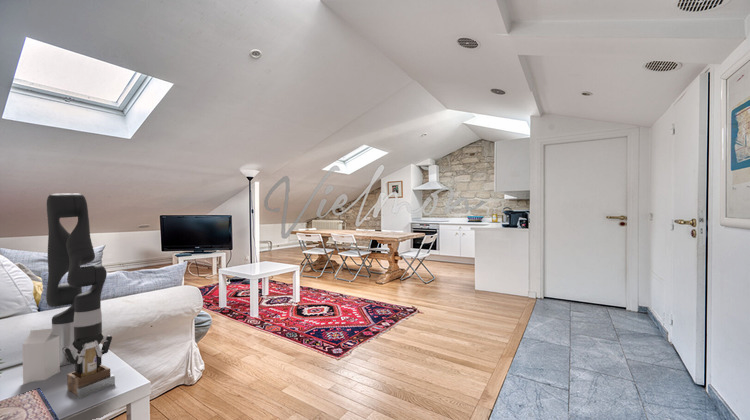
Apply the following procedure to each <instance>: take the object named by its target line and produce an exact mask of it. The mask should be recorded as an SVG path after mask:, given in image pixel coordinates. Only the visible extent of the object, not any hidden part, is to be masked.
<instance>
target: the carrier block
mask: <svg viewBox="0 0 750 420" xmlns="http://www.w3.org/2000/svg"><path fill="white" fill-rule="evenodd" d="M96 370H97V373H94V374H92V375H89V376H86V377H83V378H81V374H78V373H76V372H75V371H72V372H69V373H67V375H66V376H67V379H66V381H67V383H66V385H67V391H69V392H71V393H72V394H74V395H75V396H77V387H80V386H82V385H85V384H88V383H90V382H93V381H96V380H98V379H101V378H104V377H106V376H109V375H111V368H110V367H108V366H106V365H104V364H101V365H100V367H99V368H96Z"/></svg>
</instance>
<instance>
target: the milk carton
mask: <svg viewBox="0 0 750 420" xmlns="http://www.w3.org/2000/svg"><path fill="white" fill-rule="evenodd" d="M29 332H30V333H29V334H28V335H27V337H26V339H25V340H24V342H23V343H22V384H23V385H26V384H29V383H32V382H39V381H46V380H48V379H50V378H51V377H53V376H54V375H57V374H59V373H61V367H60V353H59V335H57V334H56V333H54V332H52V328H41V329H40V328H39V329H31V330H30V331H29Z"/></svg>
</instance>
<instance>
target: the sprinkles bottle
mask: <svg viewBox="0 0 750 420" xmlns="http://www.w3.org/2000/svg"><path fill="white" fill-rule="evenodd" d="M95 346H96V345H95V342H89V343H88V344H87V345H86V348H85V349H86V350H85V351H86V352H85V355H84V357H83V359H82V362H81V363H82V373H81V378H83V377H86V376H89V375H92V374H94V373H97V370H96V368H97V357H96V349H95ZM82 347H83V345H82ZM80 353H81V352H80Z"/></svg>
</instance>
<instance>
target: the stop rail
mask: <svg viewBox="0 0 750 420" xmlns="http://www.w3.org/2000/svg"><path fill="white" fill-rule="evenodd" d="M115 379H116V376H115V375H114V374H110V375H109V376H106V377H104V378H101V379H98V380H96V381H93V382H90V383H88V384H85V385H82V386H80V387H77V395H76V398H78V399H79V400H81V399H82V398H85V397H88V396H91V395H93V394H95V393H98V392H99V391H100V392H101V391H102V390H104V389H105V390H106V389H107V388H110V387H112V386H115V385H116V381H115Z"/></svg>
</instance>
